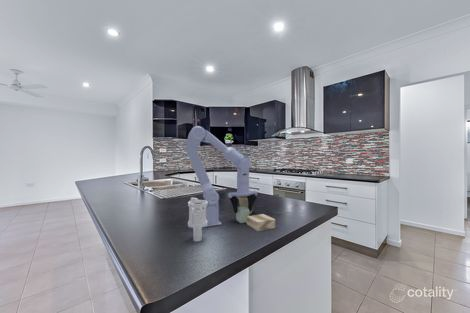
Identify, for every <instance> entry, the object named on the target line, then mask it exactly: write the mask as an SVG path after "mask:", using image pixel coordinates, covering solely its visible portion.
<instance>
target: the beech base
mask: <svg viewBox="0 0 470 313" xmlns="http://www.w3.org/2000/svg"><path fill="white" fill-rule="evenodd" d="M246 225H247V226H248V227H251V229H253V230H254V231H256V232H261V231H266V230H272V229H276V219H275V218H273V217H271V216H270V215H267V214H264V213H261V214H260V213H259V214H254V215H249V216H247V222H246Z"/></svg>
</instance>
